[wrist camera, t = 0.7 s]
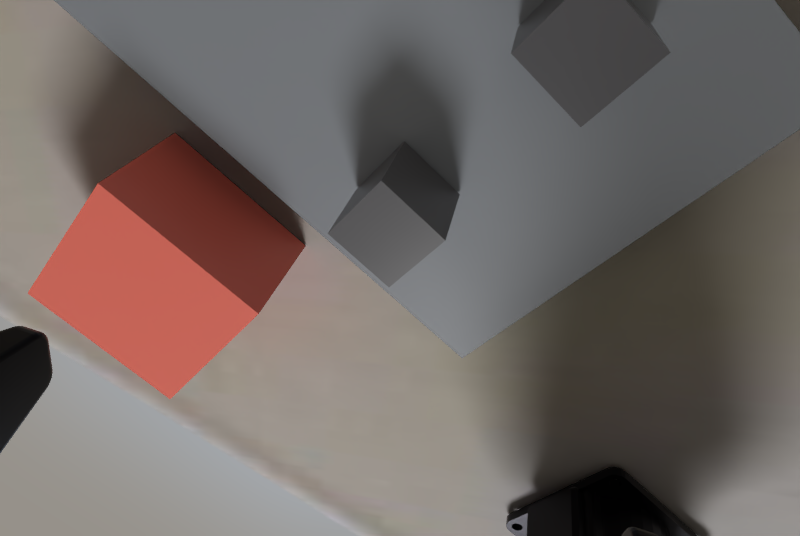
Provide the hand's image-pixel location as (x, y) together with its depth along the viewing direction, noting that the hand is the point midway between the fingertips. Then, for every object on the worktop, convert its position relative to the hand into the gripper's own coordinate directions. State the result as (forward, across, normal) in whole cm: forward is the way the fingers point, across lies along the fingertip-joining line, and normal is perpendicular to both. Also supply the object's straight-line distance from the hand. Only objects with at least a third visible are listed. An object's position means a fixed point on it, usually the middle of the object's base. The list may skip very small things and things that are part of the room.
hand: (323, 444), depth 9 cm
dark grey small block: (+12, +1, +1) cm, 12 cm away
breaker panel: (+13, +2, -3) cm, 14 cm away
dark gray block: (+12, -3, -5) cm, 13 cm away
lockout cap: (+13, +9, +7) cm, 17 cm away
